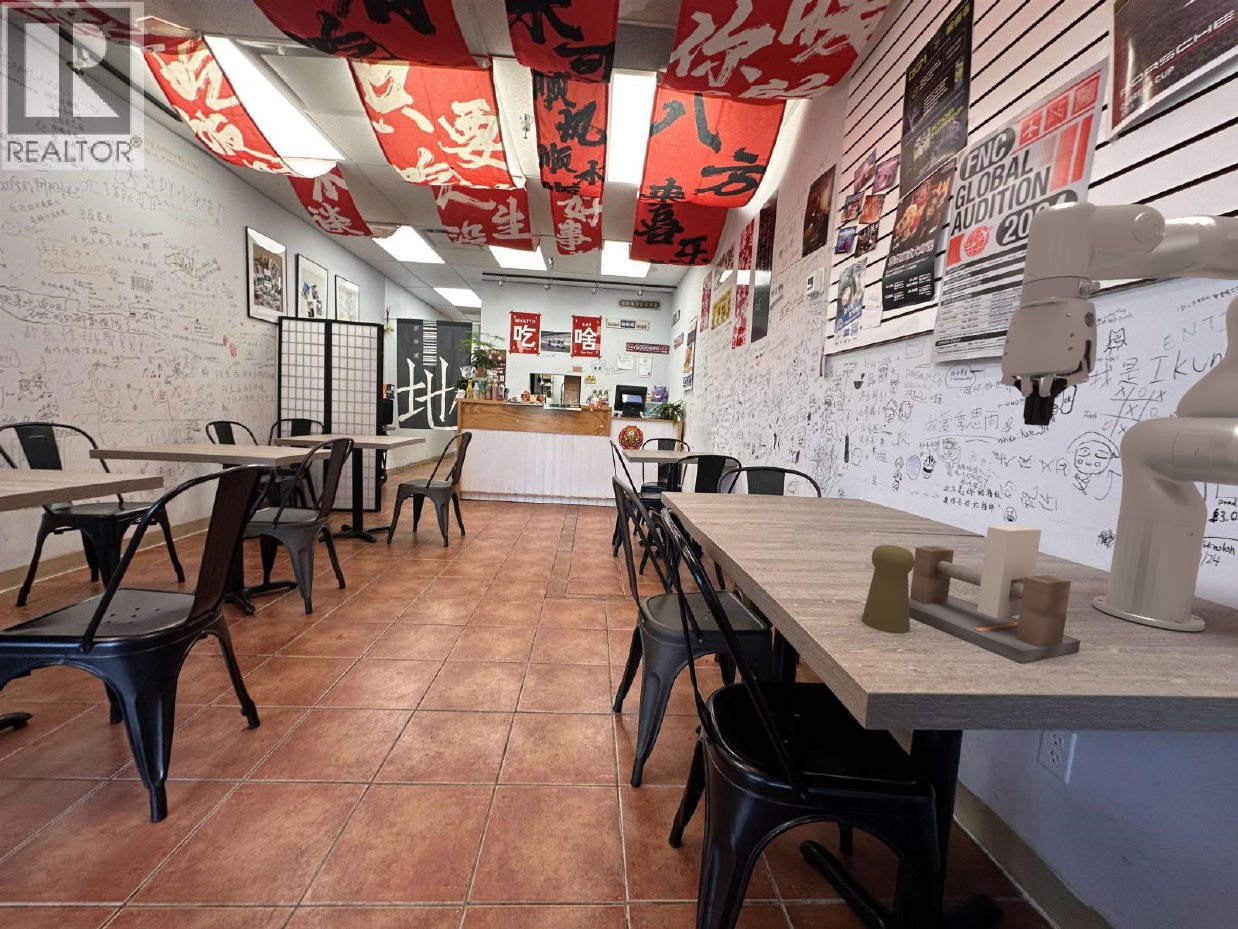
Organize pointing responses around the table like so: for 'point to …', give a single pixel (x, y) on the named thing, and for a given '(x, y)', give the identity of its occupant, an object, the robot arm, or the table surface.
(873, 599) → the olive green pawn
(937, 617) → the rod board
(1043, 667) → the table surface
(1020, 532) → the collar
